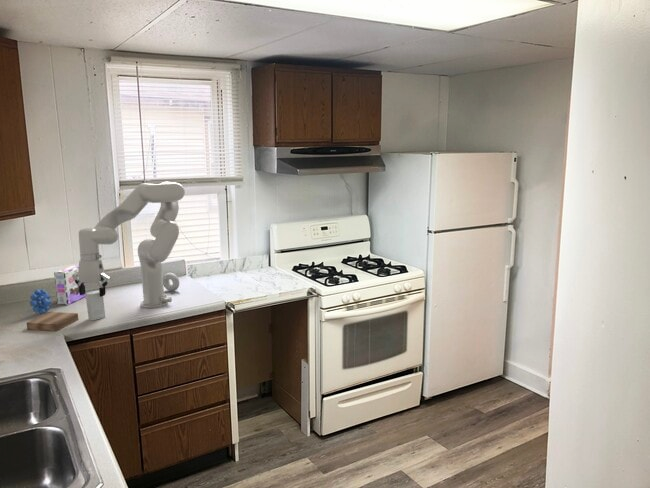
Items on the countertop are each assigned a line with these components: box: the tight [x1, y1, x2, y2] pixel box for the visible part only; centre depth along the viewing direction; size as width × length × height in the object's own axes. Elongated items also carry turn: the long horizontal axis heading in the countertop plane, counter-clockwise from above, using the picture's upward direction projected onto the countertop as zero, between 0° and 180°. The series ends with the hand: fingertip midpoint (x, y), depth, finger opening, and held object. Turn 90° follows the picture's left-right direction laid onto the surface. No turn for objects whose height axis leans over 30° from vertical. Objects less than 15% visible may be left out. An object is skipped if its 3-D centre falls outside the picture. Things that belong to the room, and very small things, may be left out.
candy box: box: [53, 265, 86, 306], centre depth 256 cm, size 14×6×16 cm, turn 168°
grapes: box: [29, 288, 52, 315], centre depth 237 cm, size 12×7×12 cm, turn 166°
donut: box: [163, 272, 180, 292], centre depth 271 cm, size 10×4×10 cm, turn 66°
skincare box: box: [85, 289, 106, 321], centre depth 230 cm, size 6×4×12 cm
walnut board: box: [26, 311, 79, 332], centre depth 224 cm, size 14×14×3 cm
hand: (92, 295), depth 229 cm, fingers open, 9 cm apart
